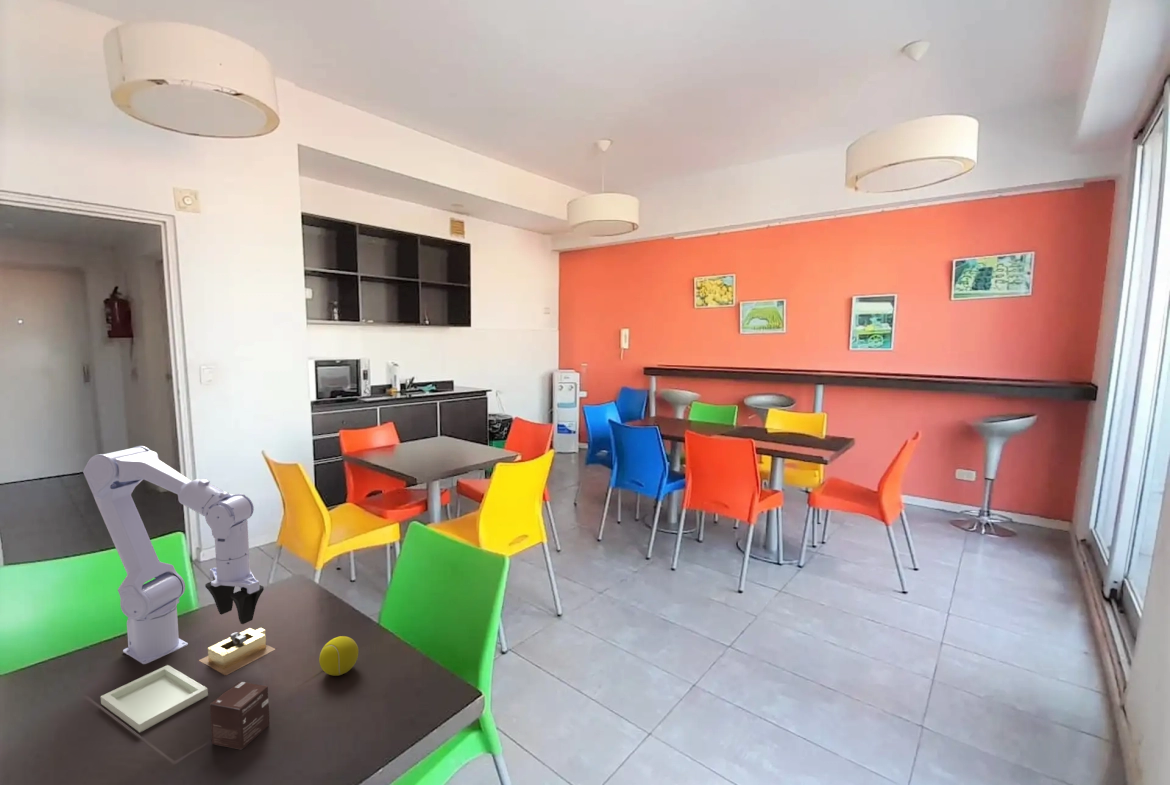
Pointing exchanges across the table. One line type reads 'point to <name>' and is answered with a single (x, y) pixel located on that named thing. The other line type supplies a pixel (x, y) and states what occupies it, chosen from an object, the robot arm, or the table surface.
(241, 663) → the stake base
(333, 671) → the tennis ball
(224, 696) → the box
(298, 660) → the table surface
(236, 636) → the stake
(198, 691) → the tray
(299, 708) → the table surface
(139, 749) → the table surface
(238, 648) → the gold hollow block
